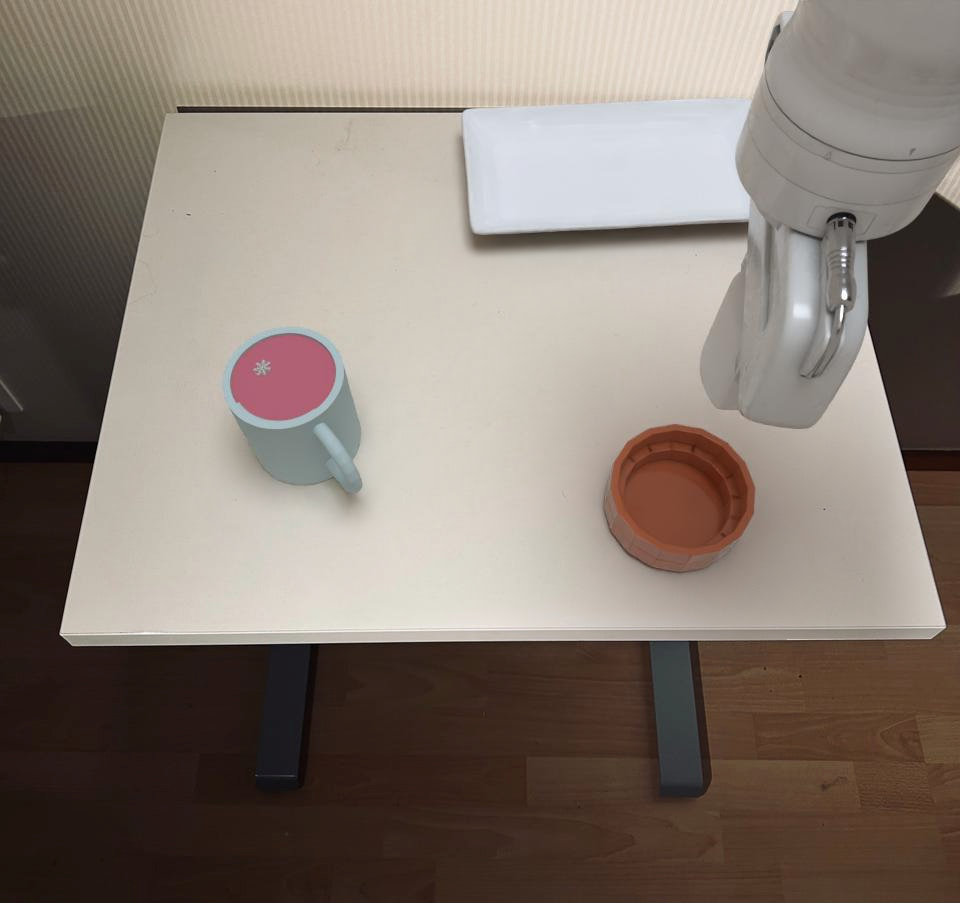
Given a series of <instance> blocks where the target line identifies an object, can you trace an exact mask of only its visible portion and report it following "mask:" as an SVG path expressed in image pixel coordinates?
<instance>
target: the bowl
mask: <svg viewBox="0 0 960 903" xmlns="http://www.w3.org/2000/svg"><path fill="white" fill-rule="evenodd" d="M605 486H606V487H605V494H604V500H603V509H604V512H605V517H606V520H607V523H608V526H609V530H610V532H611V533H612V534H613V536H614V537H615V538H616V539H617V541H618V542H619V543H620V544H621V546H622V547H623V549H624V550H625V551H626V552H627V553H628V554H630V555H631V556H633V557H634V558H636V559H638V560H639V561H641V562H643V563H644V564H646V565H647V566H650V567H651V568H656V569H661V570H666V571H670V572H677V573H684V572H689V571H695V570H699V569H705V568H708V567H710V566H711V565H712V564H714V563H715V562H717V561H718V560H719V559H721V558H722V557H724V556H725V555H727V554H728V553H729V552H730V550H731V549H732V548H733V546H735V545H736V543H737V542H738V540H740V538H741V537H742V536H743V534H744V532H745V530H746V528H747V527H748V525H749V523H750V521H751V520H752V518H753V516H754V514H755V502H756V501H755V500H756V498H755V497H756V486H755V483H754V480H753V478H752V476H751V473H750V470H749V467H748V465H747V463H746V461H745V460H744V459H743V458H742V456H740V454H739V453H737V451H736V450H735V449H734V448H733V447H732V446H731V445H730V443H729V442H727V441H726V440H724V439H722V438H720V437H719V436H717V435H715V434H713V433H711V432H709V431H707V430H706V429H703V428H701V427H694V426H689V425H683V424H677V423H673V424H667V425H662V426H655V427H650V428H647V429H645V430H644V431H642V432H641V433H639V434H637V435H636V436H634V437H633V438H631V439H629V440H628V441H627V442H626V443H625V445H623V448H622V449H621V450H620V452H619V454H618V455H617V457H616V458H615V460H614V461H613V464H612V467H611V469H610V473H609V475H608V478H607V481H606V485H605Z"/></svg>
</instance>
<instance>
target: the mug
mask: <svg viewBox="0 0 960 903" xmlns="http://www.w3.org/2000/svg"><path fill="white" fill-rule="evenodd" d="M221 378H222V379H221V388H222V395H223V398H224V400H225V402H226V405H227V407H228V408H229V410H230V412H231V414H232V415H233V418H234V419H235V421H236V423H237V425H238V426H239V428H240V430H241V431H242V433H243V435H244V437H245V439H246V440H247V443H248V445H249V446H250V448H251V450H252V451H253V453H254V455H255V457H256V458H257V460H258V462H259V465H260V466H261V467H262V469H263V470H264V471H265V472H266V473H267V474H269V475H270V476H271V477H273V478H274V479H275V480H278V481H279V482H282V483H285V484H289V485H294V486H311V485H316V484H320V483H323V482H325V481H328V480H330V479H332V478H334V479H335V480H336V481H337V483H338V484H339V485H340V486H341V487H342V488H343V489H344V490H345V491H346V492H347V493H349V494H358V493H359V492H360V491H361V490H362V488H363V480H362V477H361V474H360V472H359V470H358V468H357V466H356V464H355V462H354V461H353V460H354V458H355V457H356V455H357V453H358V451H359V448H360V444H361V439H362V428H361V423H360V420H359V417H358V413H357V409H356V405H355V402H354V401H355V400H354V398H353V394H352V391H351V387H350V383H349V378H348V376H347V372H346V368H345V364H344V361H343V357H342V356H341V353H340V351H339V350H338V348H337V347H336V345H335V344H334V343H333V342H332V341H331V340H330V339H328V337H326V336H325V335H323V334H322V333H320V332H318V331H316V330H313V329H309V328H306V327H301V326H280V327H274V328H270V329H267V330H264V331H262V332H258V333H257V334H255V335H253V336H252V337H250V338H248V339H247V340H246V341H245V342H243V343H242V344H241V345H239V346H238V347H237V348H236V349H235V351H234V352H233V353H232V354H231V356H230V358H228V361H227V362H226V364H225V367H224V370H223V374H222V377H221Z"/></svg>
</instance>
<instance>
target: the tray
mask: <svg viewBox="0 0 960 903" xmlns="http://www.w3.org/2000/svg"><path fill="white" fill-rule="evenodd" d="M752 100H753V98H752V99H751V98H744V97H706V98H705V97H703V98H702V97H701V98H678V99H676V98H675V99H657V100H656V99H655V100H633V101H631V100H630V101H611V102H609V101H608V102H593V103H592V102H590V103H566V104H544V105H521V106H520V105H519V106H502V107H501V106H500V107H499V106H497V107H495V106H493V107H475V108H466V109H465V110H463V111H462V113H461V117H460V122H461V123H460V124H461V134H462V143H463V150H464V151H463V152H464V164H465V175H466V177H465V178H466V191H467V206H468V219H469V220H468V221H469V227H470V230H471V232H472V233H473V234H475V235H479V236H481V235H483V236H486V235H487V236H488V235H510V234H511V235H512V234H513V235H514V234H531V233H533V234H535V233H549V232H550V233H552V232H570V231H571V232H572V231H573V232H574V231H589V230H590V231H595V230H615V229H632V228H633V229H634V228H635V229H636V228H651V227H667V226H686V225H704V224H705V225H706V224H726V223H729V224H730V223H749V207H750V196H749V195H748V193H747V192H746V190H745V189H744V187H743V185H742V183H741V181H740V179H739V176H738V173H737V169H736V164H735V151H736V145H737V142H738V139H739V136H740V134H741V131H742V128H743V125H744V122H745V120H746V117H747V114H748V111H749V108H750V105H751V102H752Z"/></svg>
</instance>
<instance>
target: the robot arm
mask: <svg viewBox="0 0 960 903" xmlns="http://www.w3.org/2000/svg"><path fill="white" fill-rule="evenodd" d="M763 65H764V66H763V69H762V72H761V75H760V77H759V80H758V83H757V86H756V88H755V91H754V94H753V97H752V102H751V105H750V108H749V111H748V114H747V117H746V120H745V122H744V125H743V128H742V131H741V134H740V136H739V139H738V142H737V145H736V151H735V164H736V169H737V173H738V176H739V179H740V181H741V183H742V185H743V187H744V189H745V190H746V192H747V193H748V195H749V196H750V207H749V222H748V228H747V244H746V245H747V246H746V252H745V255H744V257H743V259H742V261H741V264H740V272H741V271H744V270H746V277H745V295H744V312H743V329H742V347H741V349H740V351H739V354H738V356H737V357H736V361H735V374H734V380H735V382H736V383H738V384H739V397H738V409H739V410H738V412H739V414H740V415H741V416H742V417H744V418H745V419H747V420H748V421H751V422H753V423H756V424H761V425H765V426H770V427H776V428H782V429H789V430H790V429H791V430H807V429H810V428H812V427H814V426H815V425H816V424H817V423H818V422H819V421H820V420H821V418H822V417H823V415H824V414H825V412H826V411H827V409H828V408H829V406H830V404H831V403H832V401H833V400H834V398H835V396H836V395H837V394H838V392H839V390H840V388H841V387H842V385H843V383H844V381H845V380H846V379H847V376H848V375H849V373H850V372H851V370H852V368H853V366H854V364H855V362H856V360H857V358H858V355H859V353H860V350H861V348H862V346H863V343H864V339H865V336H866V331H867V327H868V319H869V280H868V279H869V278H868V277H869V276H868V249H867V248H868V243H867V242H868V241H870V240H874V239H880V238H883V237H887V236H890V235H892V234H894V233H896V232H899V231H901V230H902V229H904V228H905V227H907V226H908V225H910V224H911V223H912V222H913V221H915V219H916V218H917V217H918V216H919V215H920V214H921V213H922V211H923V210H924V208H925V207H926V205H927V204H928V203H929V201H930V199H931V198H932V197H933V195H934V194H935V192H936V191H937V189H938V188H939V187H940V185H941V183H942V182H943V181H944V179H945V178H946V176H947V174H948V173H949V172H950V170H951V169H952V167H953V166H954V165H955V163H956V162H957V160H958V159H959V157H960V0H798V1H797V5H796V8H795V9H794V11H793V10H792V11H791V10H789V11H788V10H784V11H783V10H782V11H781V12H780V13H779V14H778V16H777V17H776V19H775V21H774V24H773V28H772V29H771V32H770V36H769V39H768V43H767V48H766V52H765V56H764V64H763Z"/></svg>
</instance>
